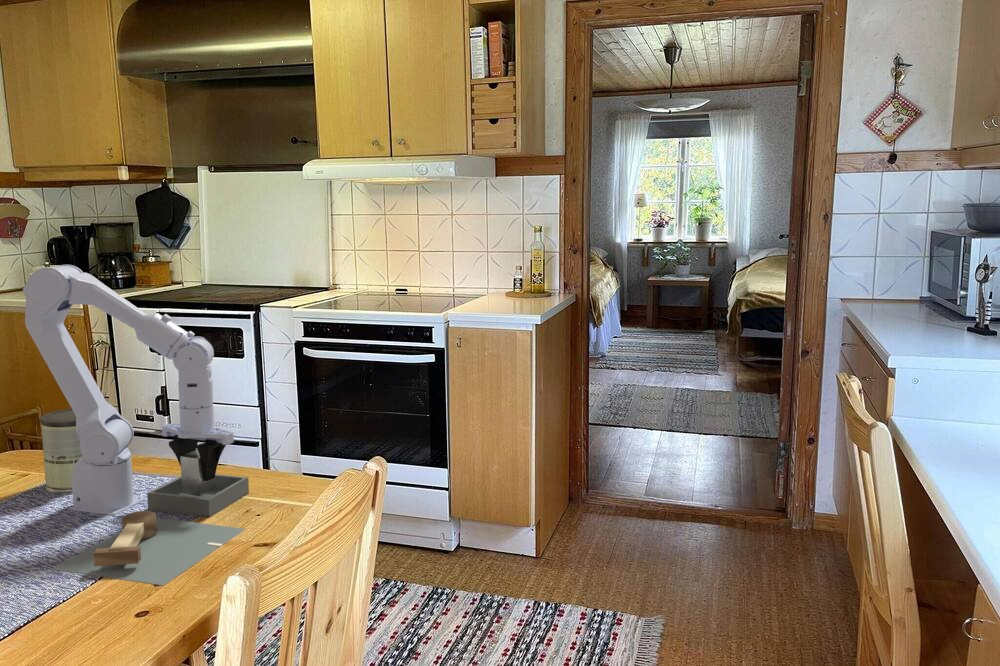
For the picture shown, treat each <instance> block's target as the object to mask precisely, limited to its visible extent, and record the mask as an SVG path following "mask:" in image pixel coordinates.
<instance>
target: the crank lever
mask: <svg viewBox="0 0 1000 666" xmlns="http://www.w3.org/2000/svg"><path fill="white" fill-rule="evenodd" d="M156 518H157V513H156V511H153V510H140V511H139V510H138V511H134V512H130V513H128V514H125V515H124V516H122V520H121V521H122V530H121V531H122V532H121V531H120V532H121V533H120V535H119V536H118V537H117V539H116V540H115V542H114V543H113V544H112V546H111V547H110V548H100V549H96V551H95V552H94V553H93V554H94V566H106V565H121V564H137V563H139V562H140V560H141V546H137V545H138V543H139V542H140V540H143V539H147V538H150V537H152V536H154V535H155V534H156V533H157V524H156Z"/></svg>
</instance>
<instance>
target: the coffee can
mask: <svg viewBox="0 0 1000 666" xmlns="http://www.w3.org/2000/svg"><path fill="white" fill-rule="evenodd" d="M39 422H40V423H41V424H40V425H41V438H42V449H43V450H42V451H43V463H44V466H43V467H44V479H45V480H44V481H45V489H46V491H48V492H49V493H54V494H58V493H59V492H72V470H73V468H74V465H75V464H76V463H77V461H79V460H80V459H81V458H83V457H84V456H83V455H82V453H81V451H80V439H79V436H78V434H77V433H76V415H75V413H74V412H73V410H72V408H66V409H65V408H64V409H60V410H53V411H51V412H47V413H45V414H43V415H40V417H39Z"/></svg>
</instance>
